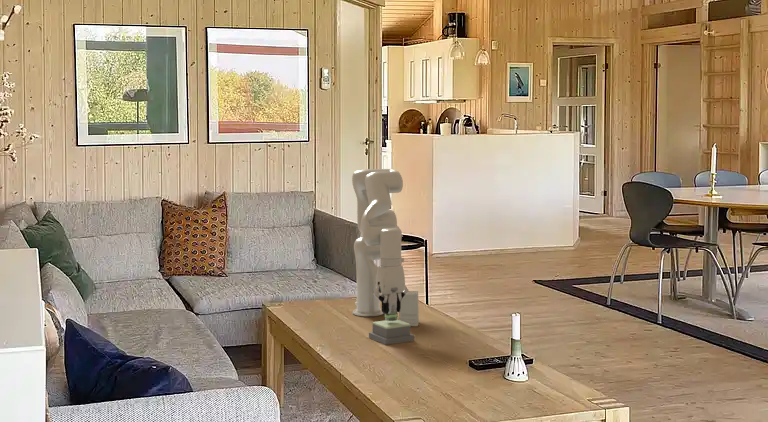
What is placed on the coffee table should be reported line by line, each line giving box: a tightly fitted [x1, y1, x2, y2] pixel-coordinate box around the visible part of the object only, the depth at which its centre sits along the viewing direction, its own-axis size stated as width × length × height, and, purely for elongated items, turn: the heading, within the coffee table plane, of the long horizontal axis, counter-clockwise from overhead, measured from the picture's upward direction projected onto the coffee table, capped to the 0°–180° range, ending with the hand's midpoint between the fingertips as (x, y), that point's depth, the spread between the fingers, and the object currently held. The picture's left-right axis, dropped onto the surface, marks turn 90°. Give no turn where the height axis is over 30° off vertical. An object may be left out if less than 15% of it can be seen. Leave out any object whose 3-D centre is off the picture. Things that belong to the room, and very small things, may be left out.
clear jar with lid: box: [384, 288, 399, 321], centre depth 353 cm, size 5×5×12 cm
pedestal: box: [368, 318, 415, 346], centre depth 354 cm, size 12×12×6 cm
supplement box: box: [398, 290, 420, 327], centre depth 377 cm, size 7×7×13 cm
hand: (391, 311), depth 353 cm, fingers closed on clear jar with lid, 4 cm apart
